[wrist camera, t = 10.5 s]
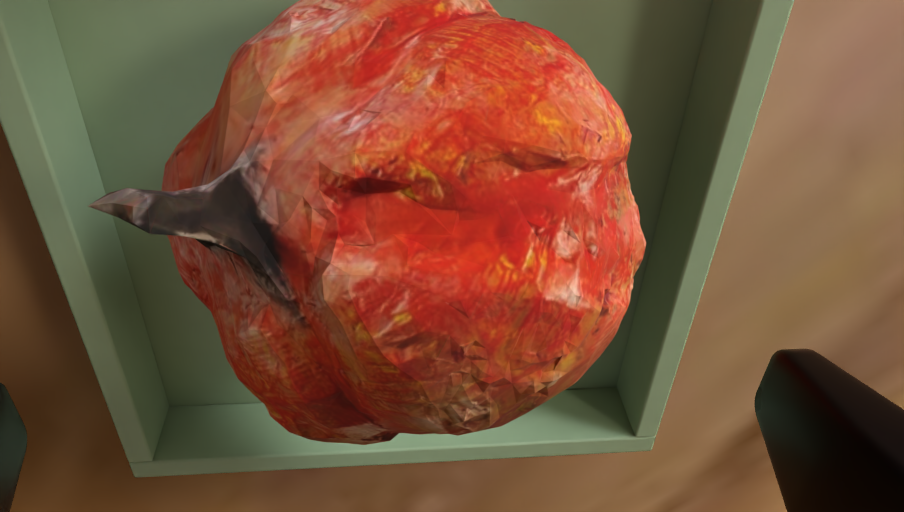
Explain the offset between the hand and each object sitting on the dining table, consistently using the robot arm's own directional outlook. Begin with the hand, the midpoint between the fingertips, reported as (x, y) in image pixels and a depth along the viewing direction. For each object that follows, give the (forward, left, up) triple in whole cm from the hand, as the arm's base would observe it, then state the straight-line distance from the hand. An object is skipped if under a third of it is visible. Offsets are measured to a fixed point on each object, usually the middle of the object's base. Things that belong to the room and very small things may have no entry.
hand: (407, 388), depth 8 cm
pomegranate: (0, 0, -8) cm, 8 cm away
